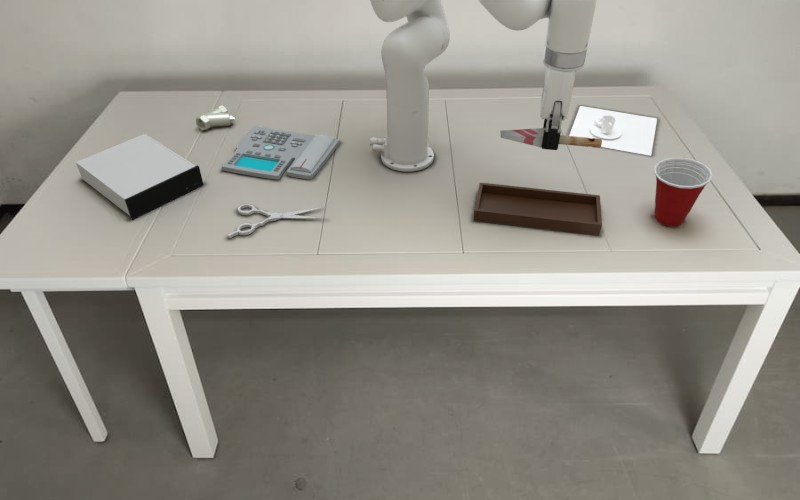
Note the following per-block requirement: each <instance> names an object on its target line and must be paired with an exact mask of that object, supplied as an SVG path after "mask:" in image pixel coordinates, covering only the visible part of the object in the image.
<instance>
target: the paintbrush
mask: <svg viewBox="0 0 800 500" xmlns="http://www.w3.org/2000/svg"><path fill="white" fill-rule="evenodd" d="M544 130H546V128H543V127H540V128H539V127H538V128H537V127H536V128H523V129H521V128H520V129H506V130H504V129H503V130H500V132H499V133H500V139H505V140H508V141H512V142H513V141H514V142H517V143H521V144H525V145H529V146H533V147H538V148H541V146H542V140H543V134H544ZM559 145H564V146H576V147H586V148H590V147H591V148H598V149H599V148H602V147H601V145H602V139H597V138H593V139H592V138H587V137H576V136H569V135H564V134H560V140H559Z"/></svg>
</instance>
